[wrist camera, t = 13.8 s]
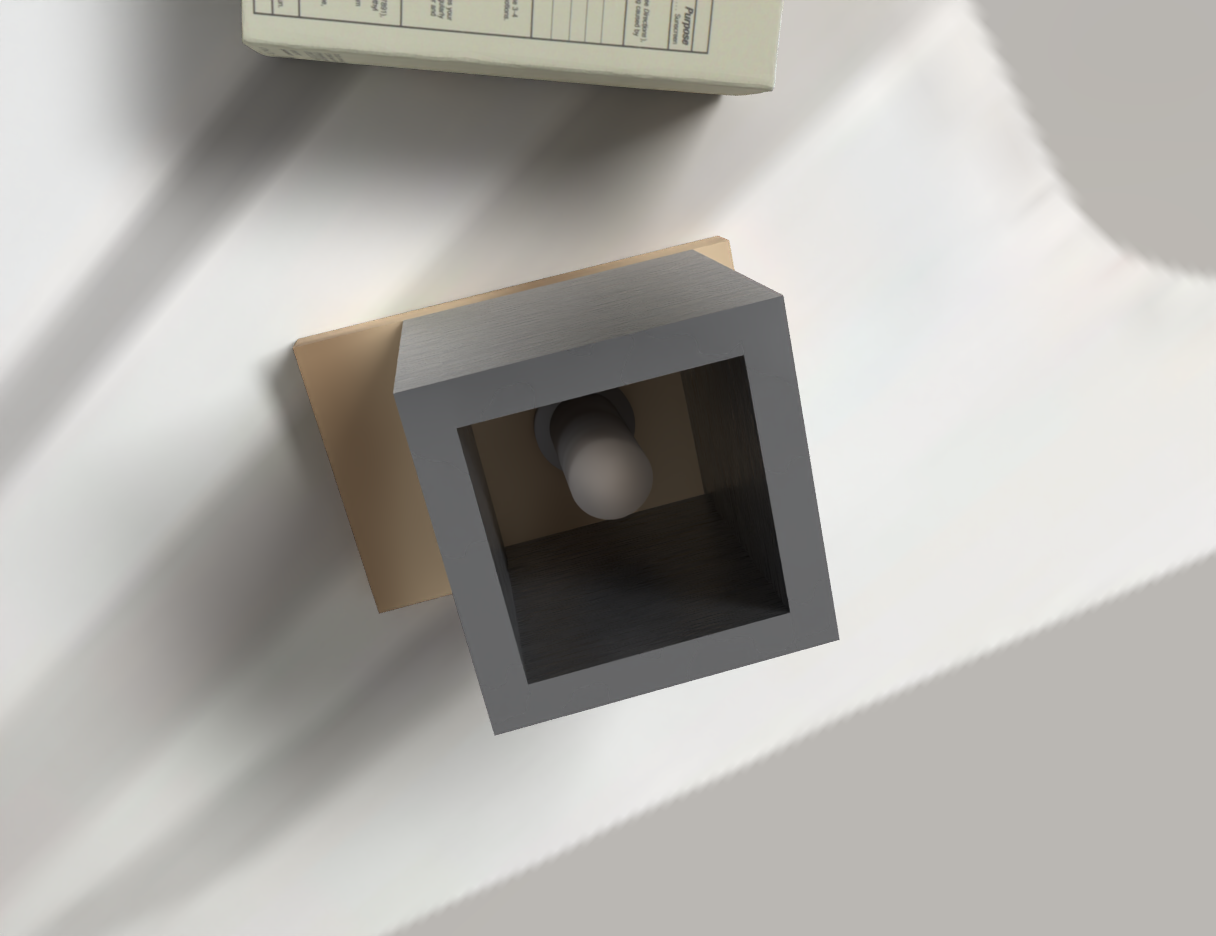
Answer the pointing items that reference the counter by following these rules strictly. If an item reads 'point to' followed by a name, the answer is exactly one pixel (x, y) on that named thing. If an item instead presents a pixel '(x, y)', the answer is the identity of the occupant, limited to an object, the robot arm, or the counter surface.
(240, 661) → the counter surface
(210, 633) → the counter surface
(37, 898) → the counter surface
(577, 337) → the hollow grey cube box
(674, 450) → the block
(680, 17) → the skincare box
